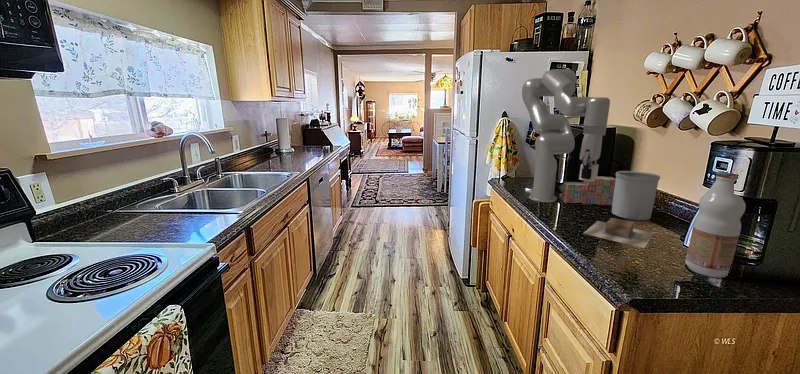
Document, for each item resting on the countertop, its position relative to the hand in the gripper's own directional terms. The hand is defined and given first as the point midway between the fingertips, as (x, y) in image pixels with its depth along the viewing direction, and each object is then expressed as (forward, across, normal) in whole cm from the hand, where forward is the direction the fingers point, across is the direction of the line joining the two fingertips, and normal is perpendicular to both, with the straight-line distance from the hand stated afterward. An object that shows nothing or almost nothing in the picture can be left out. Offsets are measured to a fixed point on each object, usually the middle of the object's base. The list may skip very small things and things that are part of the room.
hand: (587, 177), depth 133 cm
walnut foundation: (+16, +11, +15) cm, 25 cm away
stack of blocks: (+18, -26, -6) cm, 32 cm away
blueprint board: (+17, +11, +15) cm, 25 cm away
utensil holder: (+18, -19, +13) cm, 29 cm away
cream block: (+1, 0, 0) cm, 1 cm away
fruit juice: (+17, +23, +39) cm, 49 cm away
